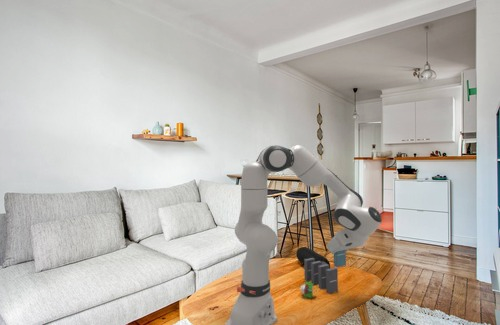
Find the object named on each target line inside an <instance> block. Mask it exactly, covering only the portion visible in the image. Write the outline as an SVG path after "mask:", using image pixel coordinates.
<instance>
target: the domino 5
mask: <svg viewBox="0 0 500 325" xmlns="http://www.w3.org/2000/svg"><path fill="white" fill-rule="evenodd" d="M346 253H347V251H346V250H342V251H337V253H336V254H333V266H334V267H335V268H341V267H344V266H347V258H346V257H347V256H346Z"/></svg>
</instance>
